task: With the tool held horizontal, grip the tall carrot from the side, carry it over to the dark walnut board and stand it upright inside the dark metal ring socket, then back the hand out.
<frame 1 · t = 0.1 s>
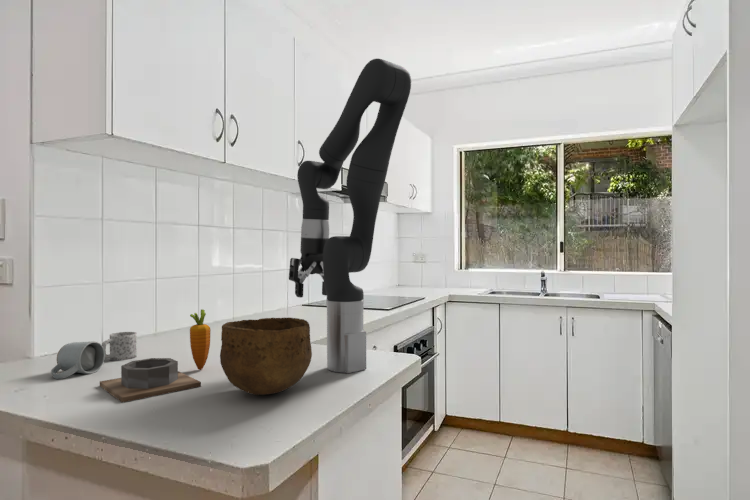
hand: (312, 296, 131), 17 cm above the countertop, tool pointing down, fingers open, 8 cm apart
ceramic mug: (76, 374, 118), on the countertop
carrot: (200, 370, 121), on the countertop
mug: (118, 359, 134), on the countertop
bowl: (266, 393, 102), on the countertop
ring holder: (150, 386, 107), on the countertop
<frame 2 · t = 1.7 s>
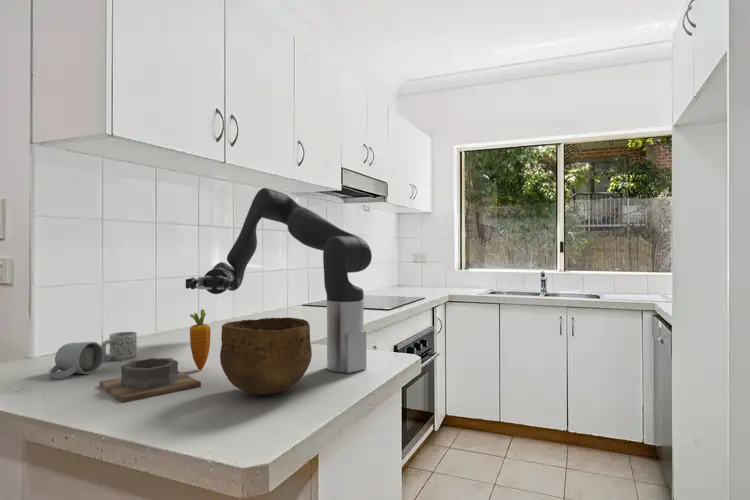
hand: (208, 285, 132), 20 cm above the countertop, tool horizontal, fingers open, 8 cm apart
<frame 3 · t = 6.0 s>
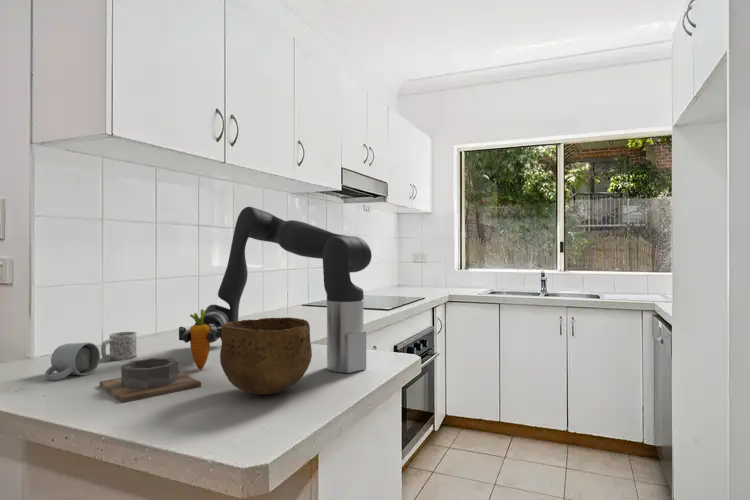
hand: (198, 337, 118), 9 cm above the countertop, tool horizontal, fingers closed on carrot, 5 cm apart
ceramic mug: (71, 376, 116), on the countertop
carrot: (200, 370, 121), on the countertop, touching gripper
everything else where it was.
when the fingers open (11 cm above the countertop, at t = 10.9 s): carrot drops 1 cm, resting on ring holder.
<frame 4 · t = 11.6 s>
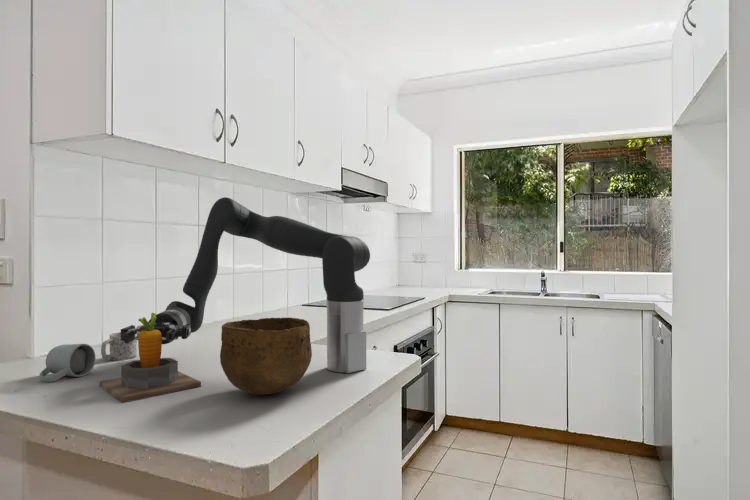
hand: (147, 337, 105), 11 cm above the countertop, tool horizontal, fingers open, 8 cm apart
ceramic mug: (66, 377, 115), on the countertop
carrot: (150, 382, 107), point 1 cm above the countertop, touching ring holder
everything else where it was.
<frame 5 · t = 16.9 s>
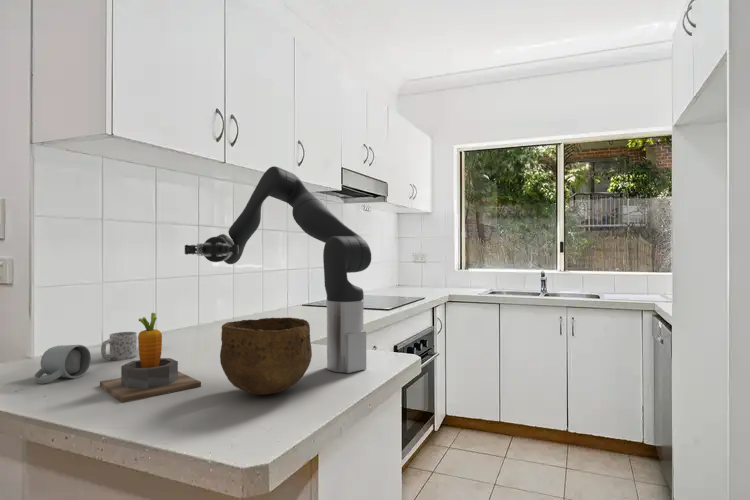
hand: (207, 249, 131), 30 cm above the countertop, tool horizontal, fingers open, 8 cm apart
ceramic mug: (61, 379, 114), on the countertop
everything else where it was.
at the end: carrot 0.1 cm off-centre on the ring holder, point 0.8 cm above the ring holder's base; carrot tilted 1°; the gripper is holding nothing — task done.
